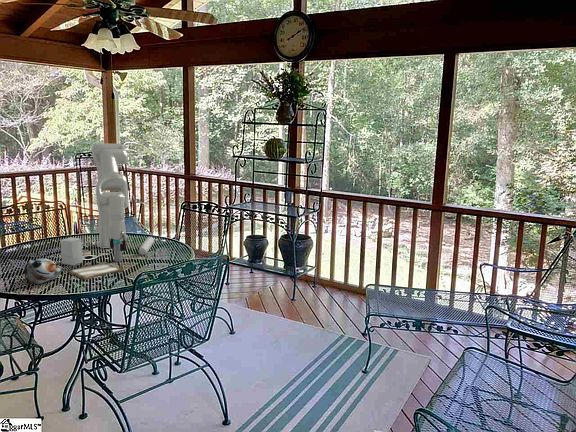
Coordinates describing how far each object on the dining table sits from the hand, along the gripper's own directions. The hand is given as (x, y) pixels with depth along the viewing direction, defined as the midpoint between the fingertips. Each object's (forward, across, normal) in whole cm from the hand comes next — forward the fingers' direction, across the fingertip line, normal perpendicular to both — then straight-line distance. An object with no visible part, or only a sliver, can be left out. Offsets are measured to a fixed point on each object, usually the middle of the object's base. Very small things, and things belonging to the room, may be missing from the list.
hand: (118, 249), depth 257 cm
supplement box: (+7, -13, -19) cm, 24 cm away
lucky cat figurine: (+7, +5, -41) cm, 42 cm away
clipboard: (+7, +9, -18) cm, 21 cm away
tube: (+6, -10, +24) cm, 26 cm away
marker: (+6, -1, 0) cm, 7 cm away
